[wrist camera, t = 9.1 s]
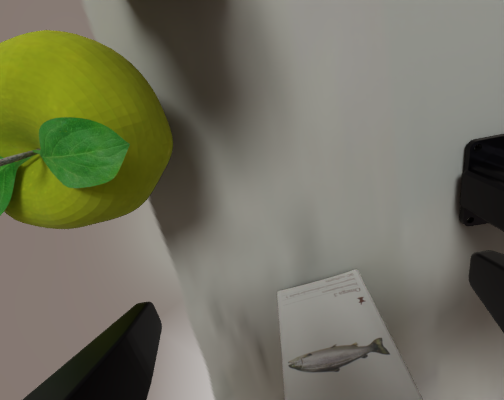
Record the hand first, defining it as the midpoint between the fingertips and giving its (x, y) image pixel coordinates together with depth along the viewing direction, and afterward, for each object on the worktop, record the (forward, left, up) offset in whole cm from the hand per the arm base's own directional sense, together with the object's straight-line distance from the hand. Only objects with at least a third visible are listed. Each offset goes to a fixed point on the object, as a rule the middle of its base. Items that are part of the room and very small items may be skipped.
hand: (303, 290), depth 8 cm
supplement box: (-2, +14, -13) cm, 19 cm away
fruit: (+10, -5, -13) cm, 17 cm away
